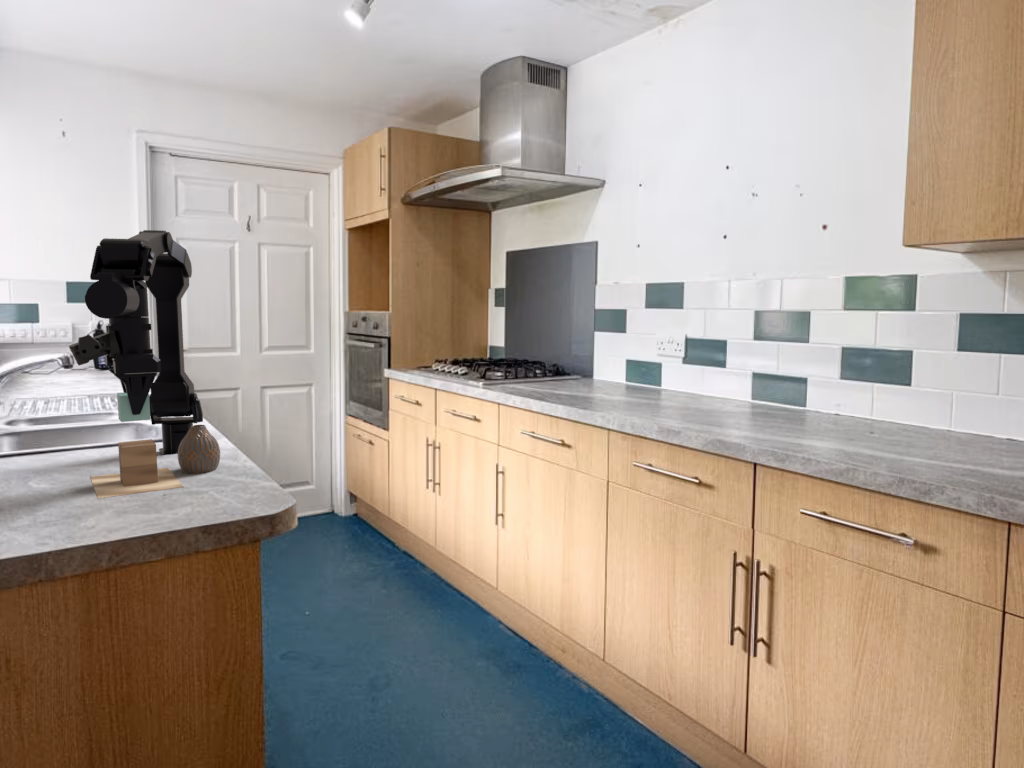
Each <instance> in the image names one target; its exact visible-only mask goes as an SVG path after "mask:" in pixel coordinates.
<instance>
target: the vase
mask: <svg viewBox="0 0 1024 768" xmlns="http://www.w3.org/2000/svg"><path fill="white" fill-rule="evenodd" d="M219 445H220V444H219V442H218V440H217V439H216V437H215V436H214V435H213V434H212V433H211V432H210V431H209V430H208V427H206V425H205V424H193V425H192V426H190V429H189V431H188V433H187V434H186V435H185V437H184V438H183V439H182V441H181V443H180V445H179V448H178V454H177V461H178V465H179V467H180V470H181V471H182V472H183V473H185V474H192V475H193V474H195V475H196V474H205V473H210V472H214V471H216V470H217V468H218V467H219V464H220V460H221V448H220V446H219Z"/></svg>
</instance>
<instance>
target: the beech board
mask: <svg viewBox="0 0 1024 768" xmlns="http://www.w3.org/2000/svg"><path fill="white" fill-rule="evenodd" d="M157 471H158V482H157V483H149V484H141V485H133V486H125V487H124V486H123V484H122V482H121V480H120V472H119V473H111V474H103V475H102V474H101V475H93V476H90V480H91V482H92V485H93V488H94V491H95V492H94V493H95V494H96V498H97V500H98V499H105V498H112V497H120V496H126V495H127V496H129V495H134V494H135V495H137V494H143V493H149V492H151V493H152V492H158V491H165V490H167V491H168V490H173V489H180V488H181V489H182V488H184V487H185V485H183V484H182V483H181V481H180V480H179V479H178V478H177V477H176V476H175V474H174V473H173V472H172V471H171V469H170V468H169V467H161V468H157Z"/></svg>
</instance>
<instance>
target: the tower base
mask: <svg viewBox="0 0 1024 768" xmlns="http://www.w3.org/2000/svg"><path fill="white" fill-rule="evenodd" d="M118 462H119V461H118ZM118 464H119V473H120V480H121V482H122V484H123V486H124V487H125V486H133V485H141V484H149V483H157V482H158V471H157V469H158V462H157V463H156V464H147V465H138V466H129V467H122V465H121V464H120V462H119V463H118Z"/></svg>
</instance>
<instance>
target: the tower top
mask: <svg viewBox="0 0 1024 768" xmlns="http://www.w3.org/2000/svg"><path fill="white" fill-rule="evenodd" d="M117 445H118V460H119V461H118V462H120V464H121V465H122V467H129V466H138V465H147V464H156V463H157V464H158V456H157V444H156V442H155V441H154V440H153V439H152V438H151V439H150V438H149V439H144V440H143V439H142V440H140V439H139V440H131V441H122V442H121V441H120V442H119V441H118V442H117ZM120 464H119V465H120Z"/></svg>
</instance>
